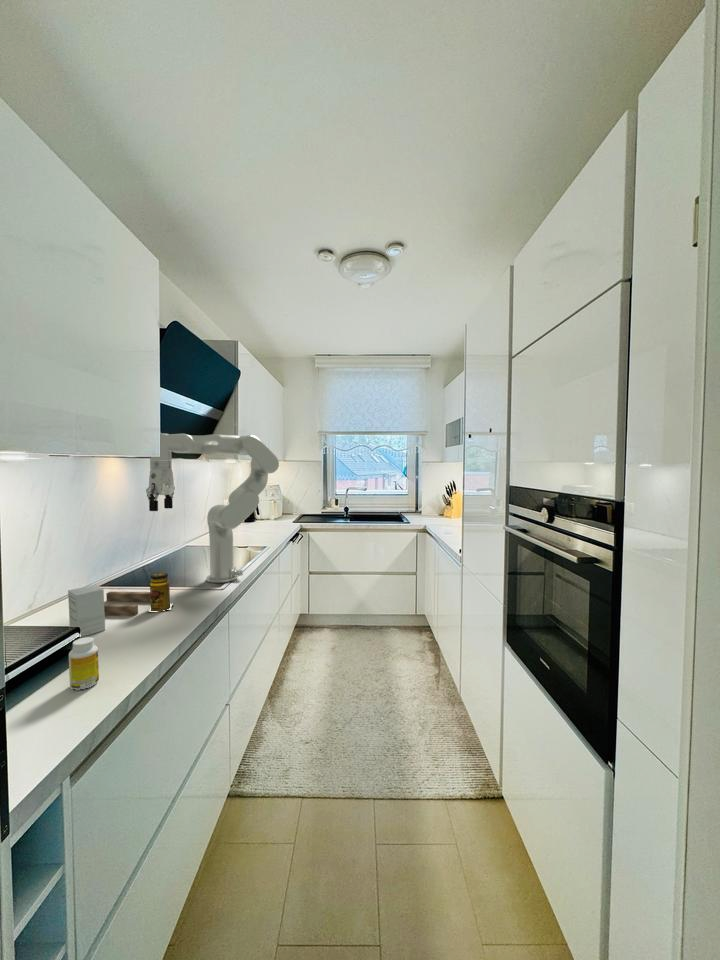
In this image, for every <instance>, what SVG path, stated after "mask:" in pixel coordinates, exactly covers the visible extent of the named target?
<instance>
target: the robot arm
mask: <svg viewBox="0 0 720 960" xmlns="http://www.w3.org/2000/svg"><path fill="white" fill-rule="evenodd" d="M159 433H160V457H151V458H150V457H149V469H150V470H149V476H148V487H147V488H146V489H145V492H146V498H147V500H148V504H149V506H148V508H149V509H148V510H149V512H158V511H159V500H158V498H159V496H164V497H165V498H164V499H163V501H164V502H163V503H164V504H163V508H164V509H173V499H174V494H175V488H176V487H175V482H174V480H175V479H174V472H173V468H172V463H173V462H172V453H174V454H175V453H176V454H204V455H213V456H216V455H217V456H249V457H250V458H251V460H250V473H249V476H248V477H247V478H246V479H245V480H244V481H243V482H242V483H240V485H239V486H237V488H235V489H234V490H232V492H231V493H230V494H229V495H228V504H227V505H225V504H216V505H213V506H212V507H211V508H210V509H209V511H208V513H207V516H206V518H207V520H206V521H207V526H208V534H209V535H208V536H209V539H208V540H209V575H207V576H206V579H205V580H206V581H207V582H208V583H212V584H221V583H228V582H229V583H230V582H232V581H235V580H237V579H238V576H241V577H242V576H244V571H243V569H239V570H238V569H237V567H236V566H234V534H233V530H234V529H237V527H239V526H240V525H241V524H242V523H244V521H245V520H246V519H247V518H249V517H250V515H252V514H253V513H254V512H255V511H256V510H257V509H258V506H259V504H260V497H259V495H260V494H261V493H262V492H263V491H264V489H265V488H266V487H267V483H268V478H269V477H268V476H269V474H273V473H275V472H276V471H277V470H278V469H279V467H280V460H279V459H278V457H277V455H276V454H275V453H274V452H273V451H272V450H271V449H270V448H269V447H268V446H267V445H266V444H265V443H264V442H263V441H262V440H261V439H259V437H257V436H256V435H253V434H249V435H238V434H237V435H235V434H221V433H220V434H213V433H212V434H205V435H190V434H188V433H187V434H186V433H172V434H169V433H163V432H159Z"/></svg>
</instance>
